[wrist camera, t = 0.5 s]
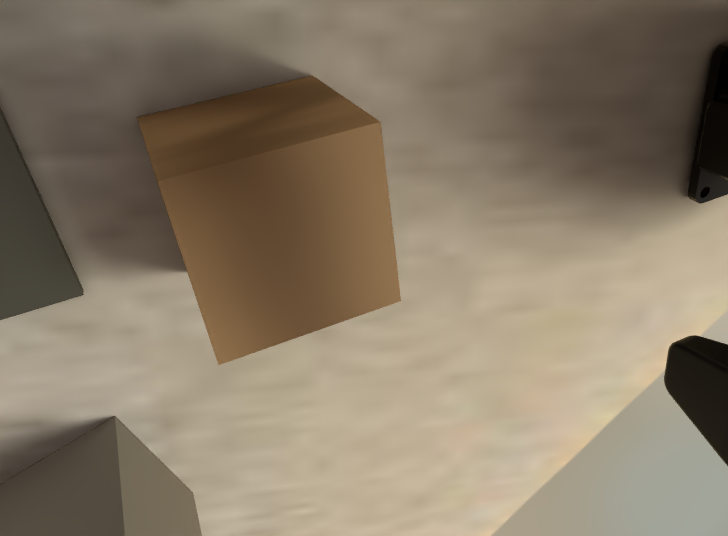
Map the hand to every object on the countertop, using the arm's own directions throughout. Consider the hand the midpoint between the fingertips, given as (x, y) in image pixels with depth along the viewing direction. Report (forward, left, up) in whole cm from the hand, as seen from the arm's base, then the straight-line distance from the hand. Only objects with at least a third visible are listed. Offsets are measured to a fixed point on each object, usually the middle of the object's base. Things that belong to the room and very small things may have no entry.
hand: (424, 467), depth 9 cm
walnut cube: (0, 0, -12) cm, 12 cm away
